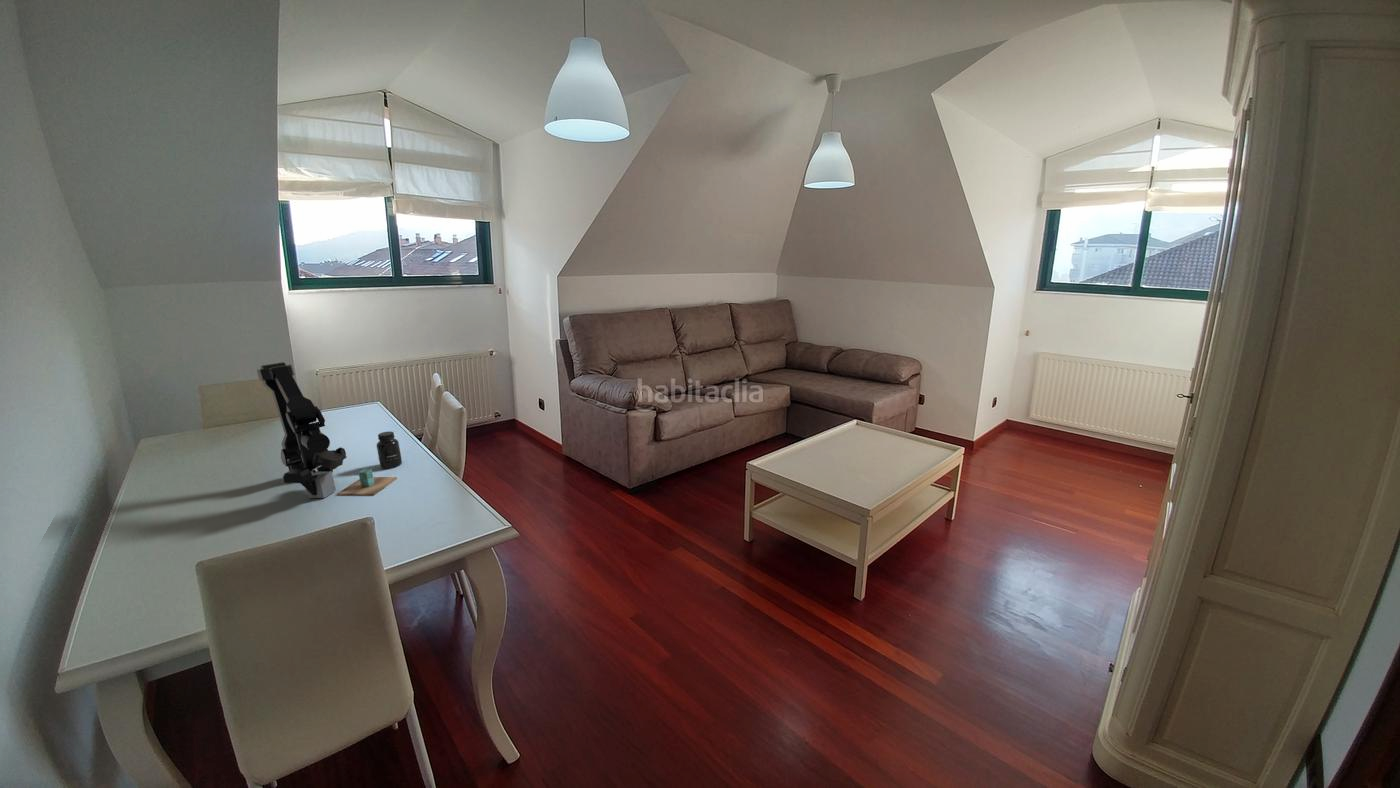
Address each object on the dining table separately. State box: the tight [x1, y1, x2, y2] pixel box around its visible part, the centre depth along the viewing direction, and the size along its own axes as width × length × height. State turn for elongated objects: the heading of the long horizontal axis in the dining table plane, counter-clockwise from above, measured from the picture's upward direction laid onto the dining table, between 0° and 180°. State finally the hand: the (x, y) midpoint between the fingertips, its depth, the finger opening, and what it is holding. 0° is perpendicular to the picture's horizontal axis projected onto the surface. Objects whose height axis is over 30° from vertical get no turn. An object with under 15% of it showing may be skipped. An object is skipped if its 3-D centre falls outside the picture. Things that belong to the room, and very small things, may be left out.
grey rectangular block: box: [305, 470, 337, 499], centre depth 168 cm, size 5×5×7 cm
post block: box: [336, 468, 398, 496], centre depth 173 cm, size 12×12×6 cm
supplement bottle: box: [376, 431, 403, 470], centre depth 189 cm, size 7×7×12 cm
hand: (321, 491), depth 169 cm, fingers closed on grey rectangular block, 5 cm apart
